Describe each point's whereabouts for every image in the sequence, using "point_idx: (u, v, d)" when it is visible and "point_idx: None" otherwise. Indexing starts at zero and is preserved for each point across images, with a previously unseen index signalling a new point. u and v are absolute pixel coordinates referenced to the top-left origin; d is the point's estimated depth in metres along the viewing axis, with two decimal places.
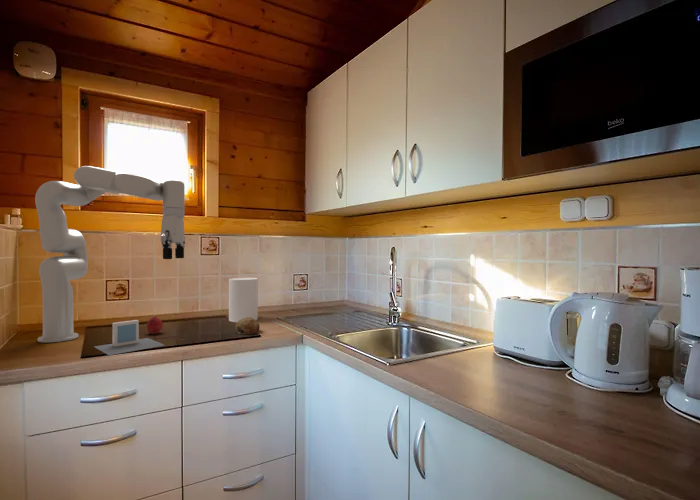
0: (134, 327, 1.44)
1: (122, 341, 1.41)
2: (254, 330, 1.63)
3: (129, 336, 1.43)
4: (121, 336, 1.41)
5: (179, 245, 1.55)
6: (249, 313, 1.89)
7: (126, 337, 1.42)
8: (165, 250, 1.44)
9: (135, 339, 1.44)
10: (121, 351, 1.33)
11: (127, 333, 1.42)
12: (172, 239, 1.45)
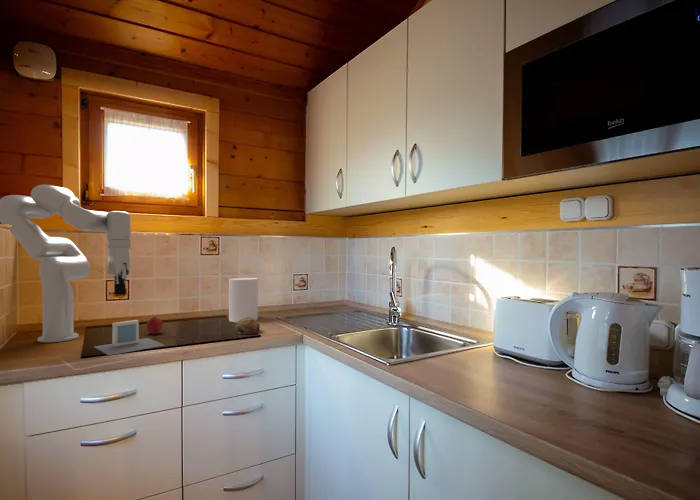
0: (134, 327, 1.44)
1: (122, 341, 1.41)
2: (254, 330, 1.63)
3: (129, 336, 1.43)
4: (121, 336, 1.41)
5: None
6: (249, 312, 1.89)
7: (126, 337, 1.42)
8: (120, 286, 1.46)
9: (135, 339, 1.44)
10: (121, 351, 1.33)
11: (127, 333, 1.42)
12: (129, 271, 1.45)
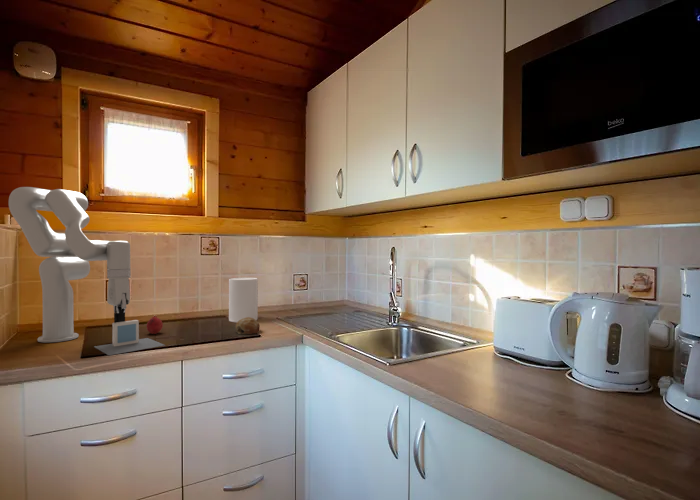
0: (134, 327, 1.44)
1: (122, 341, 1.41)
2: (254, 330, 1.63)
3: (129, 336, 1.43)
4: (121, 336, 1.41)
5: None
6: (249, 312, 1.89)
7: (126, 337, 1.42)
8: (120, 315, 1.46)
9: (135, 339, 1.44)
10: (121, 351, 1.33)
11: (127, 333, 1.42)
12: (129, 301, 1.45)
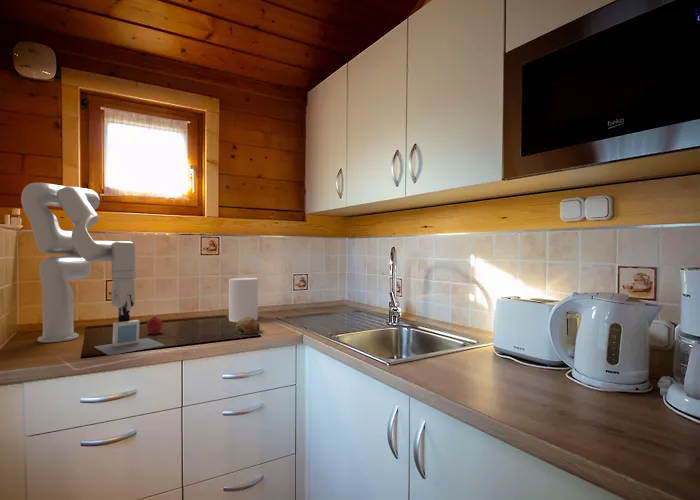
0: (134, 327, 1.44)
1: (122, 341, 1.41)
2: (254, 330, 1.63)
3: (129, 336, 1.42)
4: (122, 337, 1.41)
5: None
6: (249, 312, 1.89)
7: (127, 337, 1.42)
8: (124, 317, 1.43)
9: (135, 339, 1.44)
10: (121, 351, 1.33)
11: (127, 333, 1.42)
12: (134, 303, 1.42)
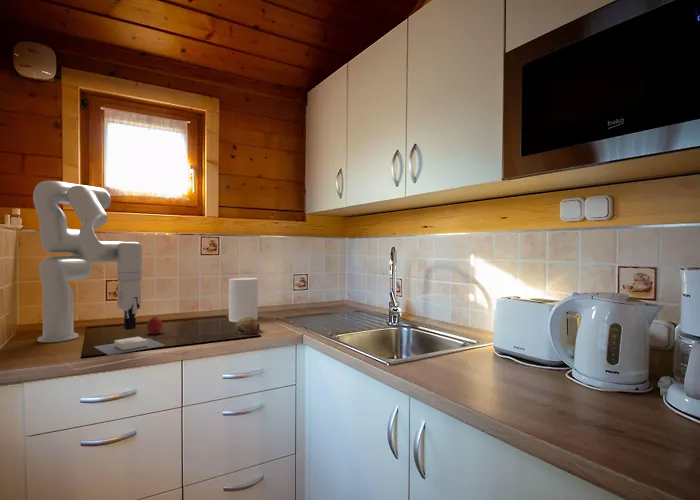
0: None
1: None
2: (254, 330, 1.63)
3: None
4: None
5: None
6: (249, 312, 1.89)
7: None
8: (130, 320, 1.39)
9: None
10: (121, 351, 1.33)
11: None
12: (140, 306, 1.38)
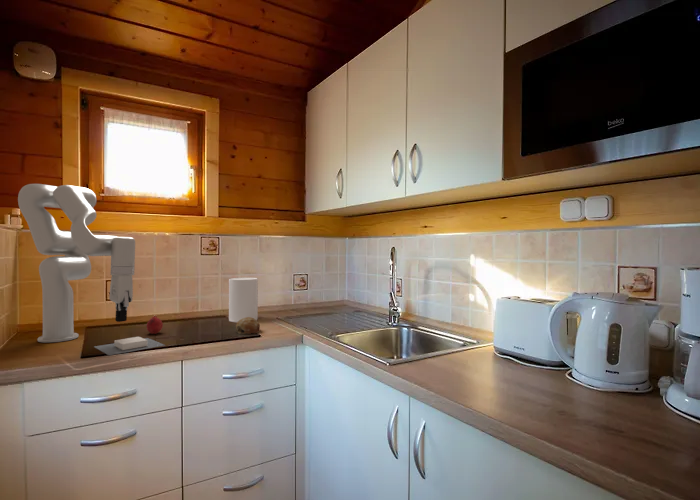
0: None
1: None
2: (254, 330, 1.63)
3: None
4: None
5: None
6: (249, 312, 1.89)
7: None
8: (121, 313, 1.43)
9: None
10: (121, 351, 1.33)
11: None
12: (131, 299, 1.43)
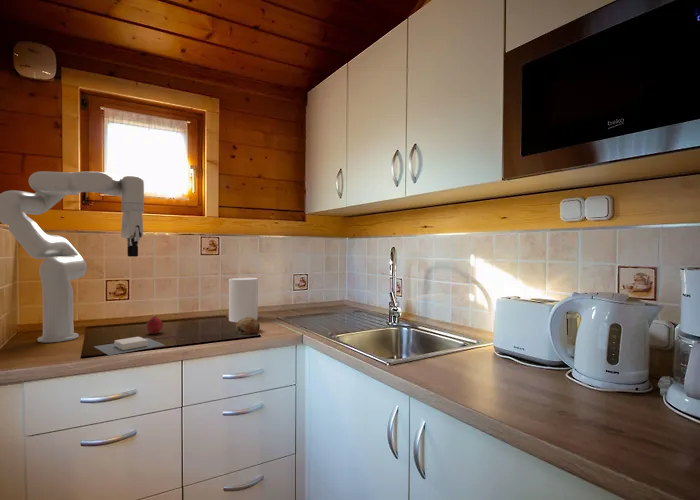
0: None
1: None
2: (254, 330, 1.63)
3: None
4: None
5: None
6: (249, 312, 1.89)
7: None
8: (133, 248, 1.51)
9: None
10: (121, 351, 1.33)
11: None
12: (142, 234, 1.50)
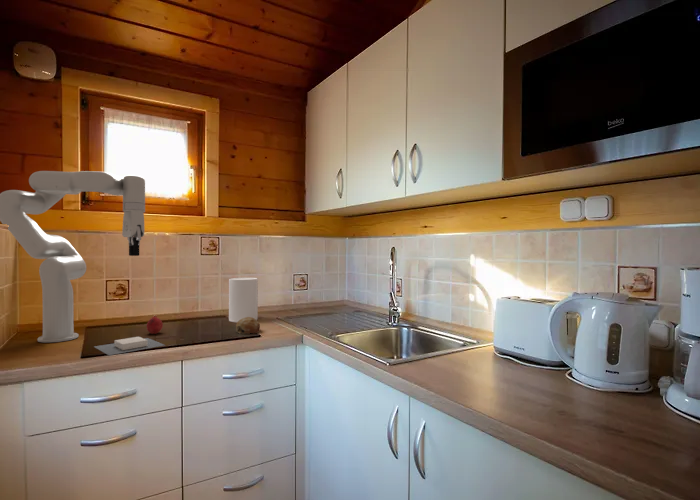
0: None
1: None
2: (254, 330, 1.64)
3: None
4: None
5: None
6: (249, 312, 1.89)
7: None
8: (134, 247, 1.52)
9: None
10: (121, 351, 1.33)
11: None
12: (143, 233, 1.51)
